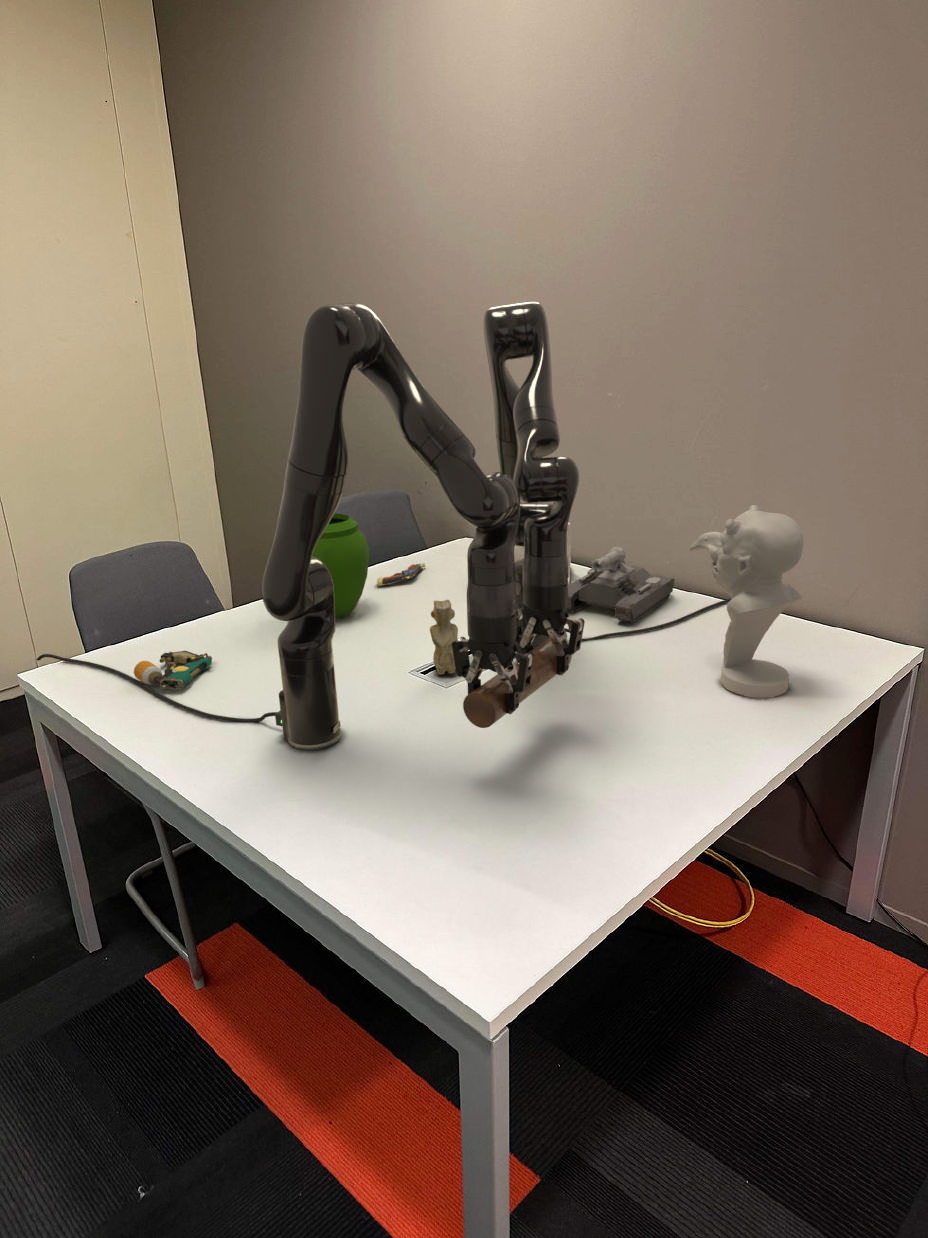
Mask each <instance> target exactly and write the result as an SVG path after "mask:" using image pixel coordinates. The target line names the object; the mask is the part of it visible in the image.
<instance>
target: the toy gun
mask: <svg viewBox="0 0 928 1238" xmlns="http://www.w3.org/2000/svg"><path fill="white" fill-rule="evenodd" d="M425 567H426V563H424V562H423V563H416V564H414V563H413V564H410V565H409V566H408V567H407V569H405V570H401V572H396V573H394V574H393V575H390V576H379V577H377V579H376V582H377V586H379V587H381V586H384V585H385V586H386V585H390V584H394V583H399V582H402V581H405V580H409V579H413V577H415V576H417V575H418V572H420V570H423V568H425Z"/></svg>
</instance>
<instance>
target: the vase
mask: <svg viewBox="0 0 928 1238" xmlns="http://www.w3.org/2000/svg"><path fill="white" fill-rule="evenodd" d="M358 524H359V523H358V521H356V520H355V519H353V518H352V517H350V516H349V515H347V514H344V513H334V515H333V517H332V519H331V520H330V522H329V524H328V525H327V527H326V529H325V530H324V532H323V533H322V535H321V537H320V539H319V540H318V542H317V544H316V546H315V549H314V552H313V555H312V557H316V558H318V559H319V560H320V561H322V562H323V563H324V564H325V566H326V567H327V569H328V570H329V572H330V575H331V578H332V581H333V586H334V599H335V620H336V619H341V618H345V617H347V616H349V615H350V614H351V613H352V612H353V611H354V610H355V608H356V607H357V605H358V604H359V601H360V599H361V597H362V595H363V592H364V588H365V586H366V581H367V578H368V570H369V561H370V560H369V559H370V548H369V545H368V541H367V537H366V535H365V534H364V533H363V532H362V531H361V530H360V529H359V527H358Z"/></svg>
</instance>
